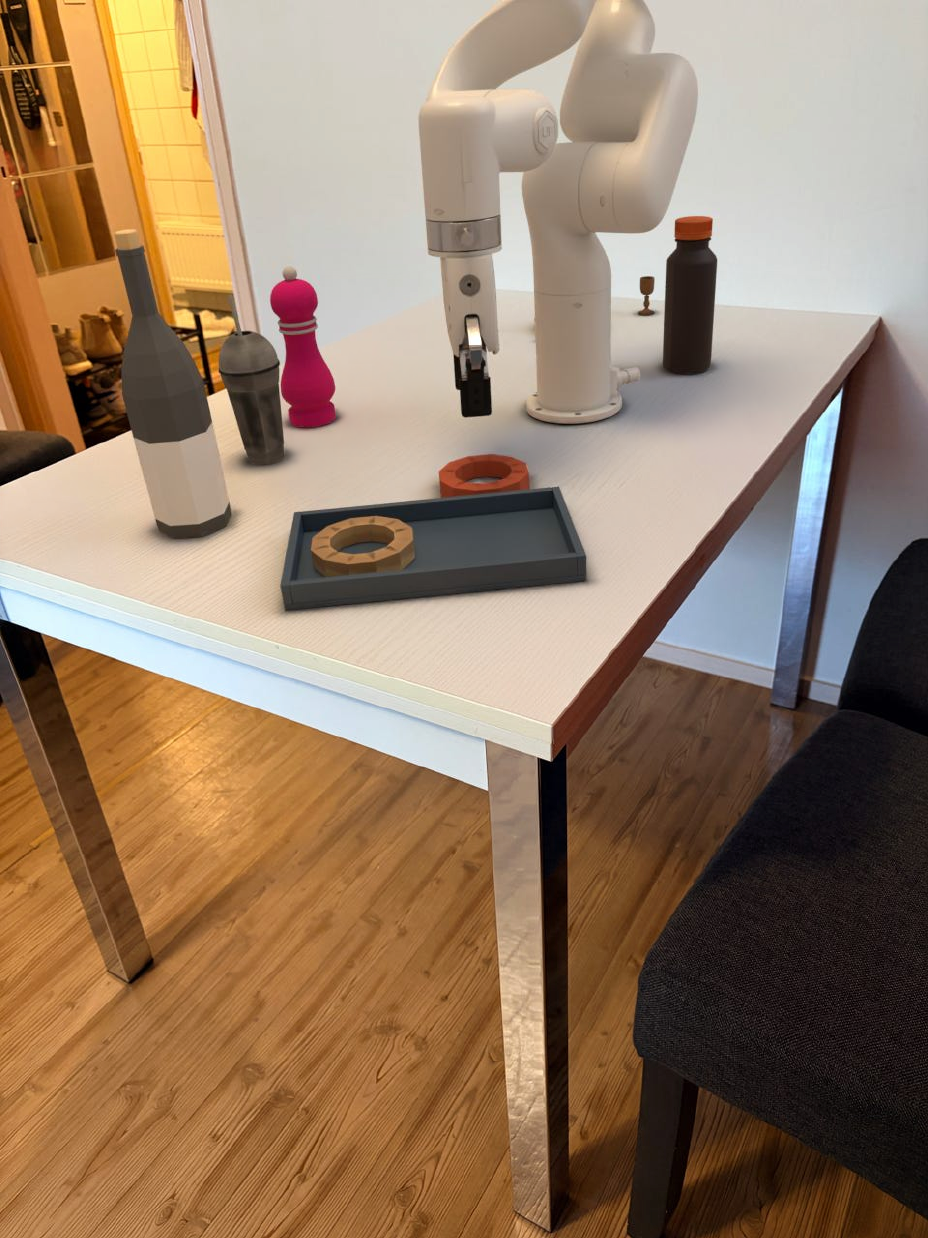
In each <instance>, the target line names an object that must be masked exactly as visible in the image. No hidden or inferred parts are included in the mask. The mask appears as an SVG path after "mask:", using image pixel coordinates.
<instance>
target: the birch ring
mask: <svg viewBox="0 0 928 1238" xmlns="http://www.w3.org/2000/svg"><path fill="white" fill-rule="evenodd" d="M372 541H373V542H380V543H386V544H389V545H388V546H387V547H385V548H382V549H379V550H377V551H374V552H371V553H363V554H347V553H341V552H338V551H339V550H341V549H342V548H344V547H347V546H350V545H353V544H355V543H362V542H372ZM311 554H312V560H313V566H314V568H315V569H316V570H317V571H318V572H320V573H321V574H322V575H323V576H325V577H335V576H345V575H355V574H365V573H375V572H385V571H396V570H403V569H404V568H405V567H406V566H407V565H408V564H409V563H410V562H411V561H412V560H413V559H414V558H415V550H414V539H413V530H412V528H411V527H410V526H408V525H407V524H405V523H403V522H402V521H400V520H399V519H394V518H387V517H380V516H369V517H359V518H350V519H347V520H344V521H341V522H338V523H335V524H332V525H329V526H327V527H325V528H324V529H323V530H322V531H320V532H319V533H318V534H317V535H315V536H314V537H313V538H312V545H311Z"/></svg>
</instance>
